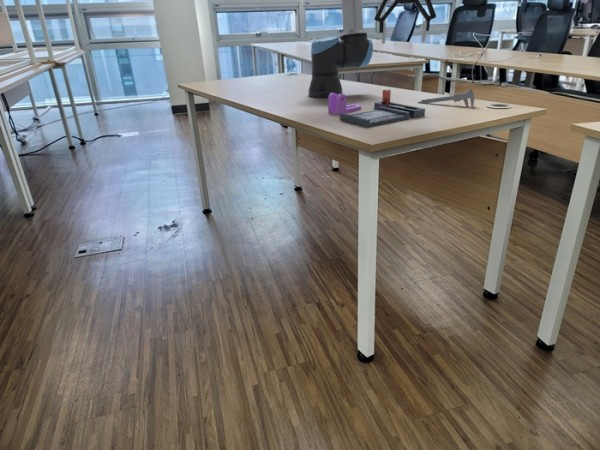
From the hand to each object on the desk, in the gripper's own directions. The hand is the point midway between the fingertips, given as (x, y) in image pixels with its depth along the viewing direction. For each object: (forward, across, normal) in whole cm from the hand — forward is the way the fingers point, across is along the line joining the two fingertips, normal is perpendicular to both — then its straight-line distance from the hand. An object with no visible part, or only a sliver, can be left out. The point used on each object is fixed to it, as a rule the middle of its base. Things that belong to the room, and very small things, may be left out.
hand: (403, 42), depth 146 cm
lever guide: (+22, -2, -8) cm, 24 cm away
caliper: (+23, +18, +4) cm, 29 cm away
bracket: (+23, -20, -2) cm, 30 cm away
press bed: (+22, -11, -18) cm, 31 cm away
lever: (+21, -3, -6) cm, 22 cm away
